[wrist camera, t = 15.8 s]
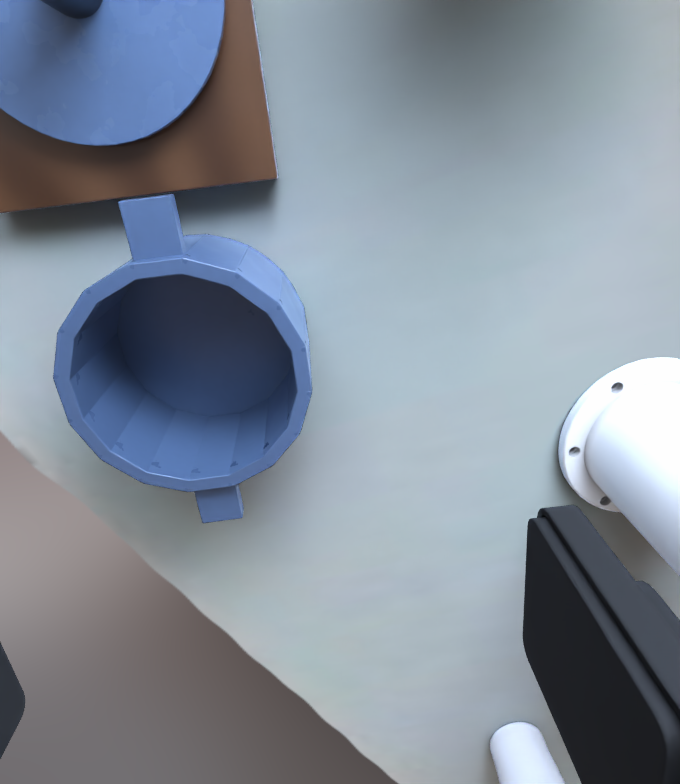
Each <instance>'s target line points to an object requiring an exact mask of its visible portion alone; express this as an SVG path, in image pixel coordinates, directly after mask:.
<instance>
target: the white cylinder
mask: <svg viewBox="0 0 680 784" xmlns="http://www.w3.org/2000/svg"><path fill="white" fill-rule="evenodd" d="M490 751H491V755H492V758H493V761H494V764H495V767H496V771H497V775H498V779H499V783H500V784H566V783H565V781H564V779H563V777H562V775H561V773H560V771H559V769H558V767H557V765H556V763H555V761H554V759H553V757H552V755H551V753H550V751H549V749H548V747H547V744H546V742H545V740H544V737H543V735H542V733H541V732H540V730H539V729H538V728H537V727H535V726H534V725H532V724H530V723H526V722H514V723H510V724H507V725H504V726H502V727H501V728H499V729H498V730H497V731H496V732H495V733H494V734H493V736H492V737H491V740H490Z"/></svg>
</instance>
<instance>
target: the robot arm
mask: <svg viewBox="0 0 680 784" xmlns="http://www.w3.org/2000/svg"><path fill="white" fill-rule="evenodd" d="M558 454H559V463H560V467H561V470H562V472H563V475H564V477H565V479H566V480H567V482H568V483H569V485H570V486H571V487H572V488H573V489H574V491H575V492H576V493H577V494H578V495H579V496H580V497H581V498H582V499H584V500H585V501H587V502H588V503H589V504H591V505H593V506H596V507H598V508H600V509H604V510H609V511H614V512H622V513H623V514H624V515H625V516H626V518H627V519H628V520H629V521H630V522H631V523H632V524H633V525H634V526H635V528H636V529H637V530H638V531H639V532H640V533H641V534H642V535H643V536H644V538H645V539H646V540H647V541H648V542H649V543H650V544H651V545H652V546H653V548H654V549H655V550H656V551H657V552H658V553H659V554H660V555H661V556H662V558H663V559H664V560H665V561H666V562H667V563H668V564H669V565H670V566H671V568H672V569H673V570H674V571H675V572H676V573H677V574H678V575H679V576H680V359H676V358H663V357H657V358H650V359H642V360H639V361H636V362H633V363H629V364H626V365H624V366H622V367H620V368H618V369H616V370H614V371H612V372H610V373H608V374H607V375H605V376H604V377H603V378H601V379H600V380H598V381H597V382H595V383H594V384H593V385H592V386H591V387H590V388H589V389H588V390H587V391H586V392H585V393H584V394H583V395H582V396H581V397H580V398H579V400H578V401H577V402H576V404H575V405H574V406H573V408H572V409H571V411H570V413H569V415H568V417H567V418H566V420H565V422H564V425H563V428H562V431H561V434H560V439H559V448H558ZM523 643H524V648H525V652H526V656H527V658H528V661H529V663H530V666H531V668H532V670H533V672H534V675H535V677H536V679H537V682H538V684H539V686H540V689H541V691H542V693H543V695H544V698H545V700H546V702H547V705H548V707H549V709H550V712H551V714H552V716H553V718H554V721H555V723H556V725H557V728H558V730H559V732H560V735H561V737H562V739H563V741H564V744H565V746H566V748H567V751H568V753H569V755H570V758H571V760H572V762H573V764H574V767H575V769H576V771H577V774H578V776H579V778H580V781H581V783H582V784H680V620H679V619H678V618H677V617H676V615H675V614H674V613H673V612H672V610H671V609H670V608H669V607H668V605H667V604H666V603H665V602H664V600H663V599H662V598H661V597H660V595H659V594H658V593H657V592H656V591H655V590H654V589H653V588H652V587H651V586H650V585H649V584H647V583H646V582H644V581H635V580H634V579H633V577H632V576H631V575H630V573H629V572H628V571H627V569H626V568H625V567H624V566H623V564H622V563H621V562H620V560H619V559H618V558H617V556H616V555H615V554H614V553H613V551H612V550H611V549H610V547H609V546H608V545H607V543H606V542H605V541H604V540H603V538H602V537H601V536H600V534H599V533H598V532H597V530H596V529H595V528H594V527H593V525H592V524H591V523H590V521H589V520H588V519H587V517H586V516H585V515H584V514H583V512H582V511H581V510H580V509H579V508H578V507H577V506H575V505H568V506H559V507H550V508H542V509H540V510H539V512H538V516H537V518H532V519H529V521H528V530H527V552H526V575H525V597H524V620H523ZM24 708H25V695H24V692H23V690H22V688H21V686H20V683H19V681H18V679H17V677H16V675H15V673H14V671H13V668H12V666H11V664H10V662H9V660H8V658H7V655H6V653H5V651H4V649H3V647H2V645H1V643H0V758H1V757H2V755H3V753H4V751H5V749H6V747H7V745H8V743H9V741H10V739H11V737H12V735H13V733H14V731H15V729H16V728H17V726H18V724H19V722H20V720H21V717H22V715H23V712H24Z"/></svg>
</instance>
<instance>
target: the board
mask: <svg viewBox="0 0 680 784" xmlns="http://www.w3.org/2000/svg"><path fill="white" fill-rule="evenodd" d="M278 176H279V175H278V168H277V161H276V154H275V147H274V141H273V134H272V127H271V120H270V114H269V107H268V100H267V93H266V86H265V80H264V73H263V66H262V59H261V53H260V46H259V39H258V32H257V26H256V19H255V12H254V5H253V0H225V21H224V30H223V37H222V41H221V45H220V50H219V54H218V57H217V60H216V62H215V65H214V68H213V70H212V73H211V75H210V77H209V79H208V81H207V83H206V85H205V86H204V88H203V90H202V92H201V93H200V94H199V96H198V97H197V99H196V100H195V101H194V103H193V104H192V105H191V106H190V107H189V108H188V109H187V110H186V111H185V112H184V113H183V115H182V116H181V117H180V118H178V119H177V120H176V121H174V122H173V123H172V124H170V125H169V126H168V127H166V128H165V129H163V130H161V131H159V132H157V133H156V134H154V135H152V136H150V137H147V138H144V139H141V140H139V141H136V142H132V143H127V144H121V145H112V146H92V145H80V144H75V143H71V142H66V141H62V140H59V139H56V138H53V137H50V136H47V135H45V134H42V133H40V132H38V131H36V130H34V129H32V128H30V127H28V126H26V125H24V124H22V123H21V122H19V121H18V120H16V119H15V118H13V117H12V116H10V115H8V114H7V113H6V112H4V111H3V110H2V109H1V108H0V213H8V212H16V211H24V210H32V209H40V208H48V207H56V206H64V205H72V204H80V203H88V202H96V201H104V200H112V199H120V198H128V197H136V196H144V195H152V194H160V193H168V192H176V191H184V190H192V189H200V188H208V187H216V186H224V185H232V184H240V183H248V182H256V181H264V180H272V179H277V178H278Z"/></svg>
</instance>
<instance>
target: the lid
mask: <svg viewBox="0 0 680 784" xmlns="http://www.w3.org/2000/svg"><path fill="white" fill-rule="evenodd" d="M224 21H225V0H0V108H1V109H2V110H3V111H4V112H6V113H7V114H8V115H10V116H12V117H13V118H15V119H16V120H18V121H19V122H21V123H22V124H24V125H26V126H28V127H30V128H32V129H34V130H36V131H38V132H40V133H42V134H45V135H47V136H50V137H53V138H56V139H59V140H62V141H66V142H71V143H75V144H80V145H92V146H112V145H121V144H127V143H132V142H136V141H139V140H141V139H144V138H147V137H150V136H152V135H154V134H156V133H157V132H159V131H161V130H163V129H165V128H166V127H168V126H169V125H170V124H172V123H173V122H174V121H176V120H177V119H178V118H180V117H181V116H182V115H183V113H184V112H185V111H186V110H187V109H188V108H189V107H190V106H191V105H192V104H193V103H194V101H195V100H196V99H197V97H198V96H199V94H200V93H201V92H202V90H203V88H204V86H205V85H206V83H207V81H208V79H209V77H210V75H211V73H212V70H213V68H214V65H215V62H216V60H217V57H218V54H219V50H220V45H221V41H222V37H223V30H224Z"/></svg>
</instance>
